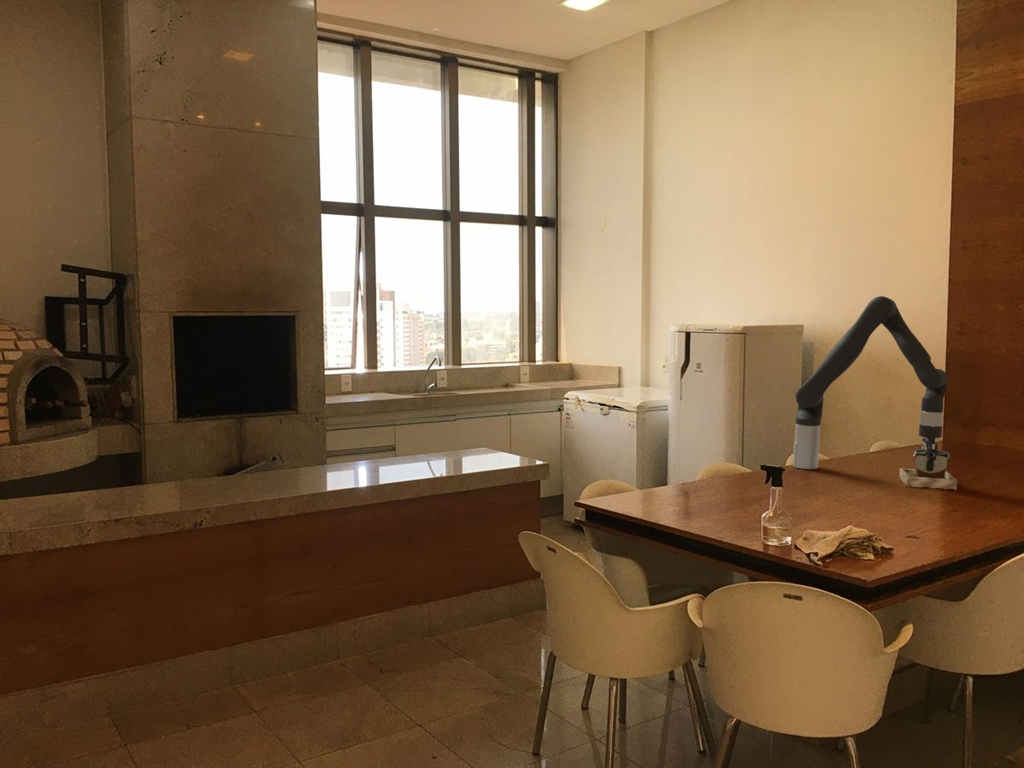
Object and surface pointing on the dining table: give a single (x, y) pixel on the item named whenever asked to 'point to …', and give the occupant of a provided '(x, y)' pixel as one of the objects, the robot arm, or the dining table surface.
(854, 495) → the dining table surface
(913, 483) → the whitewashed wooden tray
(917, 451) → the food container
